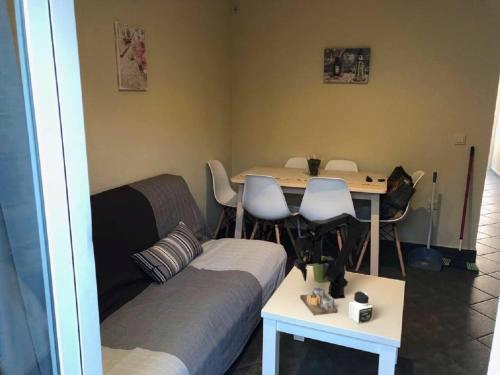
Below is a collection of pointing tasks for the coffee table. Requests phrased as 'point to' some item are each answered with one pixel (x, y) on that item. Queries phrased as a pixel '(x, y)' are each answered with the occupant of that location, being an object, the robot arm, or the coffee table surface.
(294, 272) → the coffee table surface
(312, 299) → the orange gear
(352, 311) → the medicine bottle
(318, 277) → the plant pot
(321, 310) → the gear board
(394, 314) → the coffee table surface
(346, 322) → the coffee table surface
